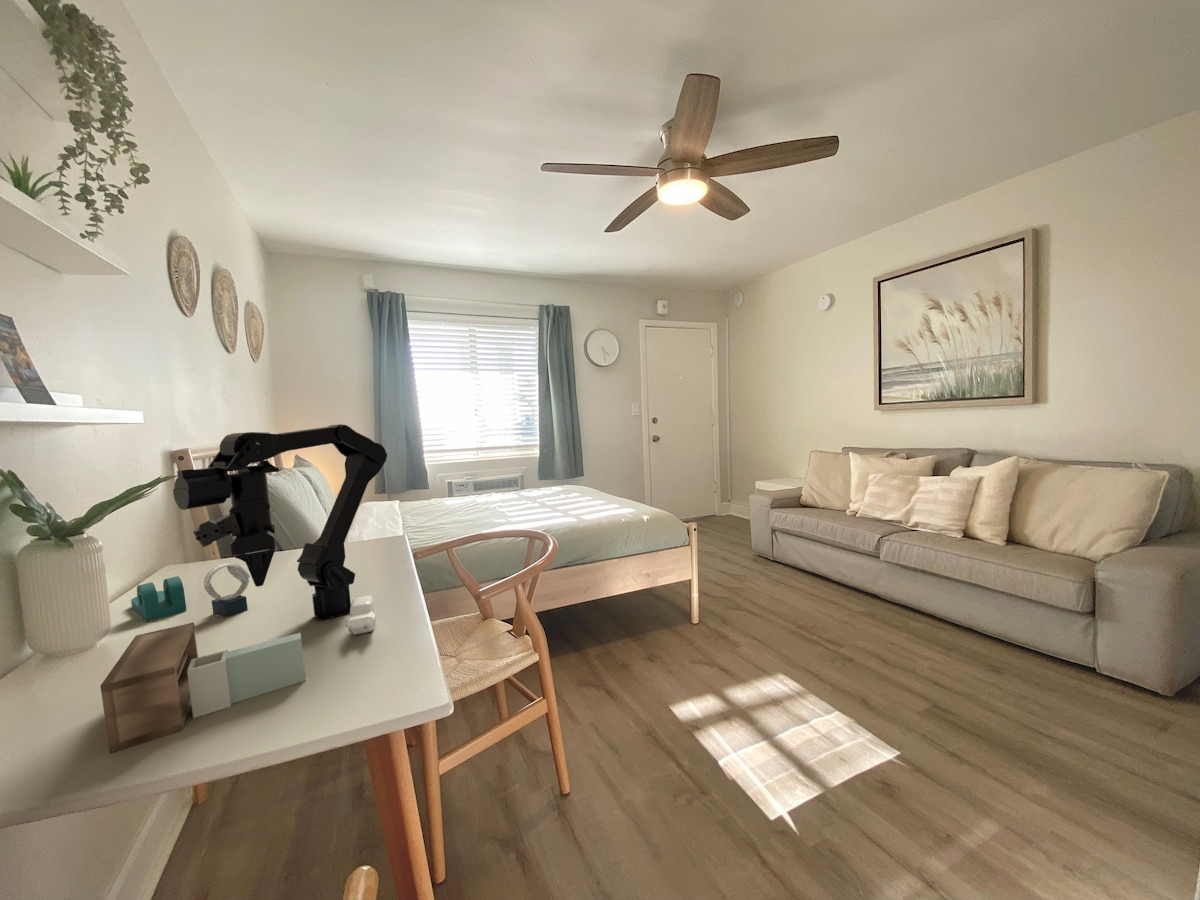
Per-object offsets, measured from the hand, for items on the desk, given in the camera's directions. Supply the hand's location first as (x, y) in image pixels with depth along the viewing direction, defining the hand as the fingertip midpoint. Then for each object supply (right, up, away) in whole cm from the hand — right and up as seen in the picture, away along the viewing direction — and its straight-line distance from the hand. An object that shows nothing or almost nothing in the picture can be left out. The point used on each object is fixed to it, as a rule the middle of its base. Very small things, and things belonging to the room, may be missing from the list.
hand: (259, 579), depth 89 cm
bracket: (-40, -13, +22) cm, 48 cm away
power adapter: (+19, -11, +1) cm, 22 cm away
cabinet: (+2, -13, -19) cm, 23 cm away
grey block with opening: (+12, -13, -17) cm, 24 cm away
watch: (-19, -12, +17) cm, 28 cm away
